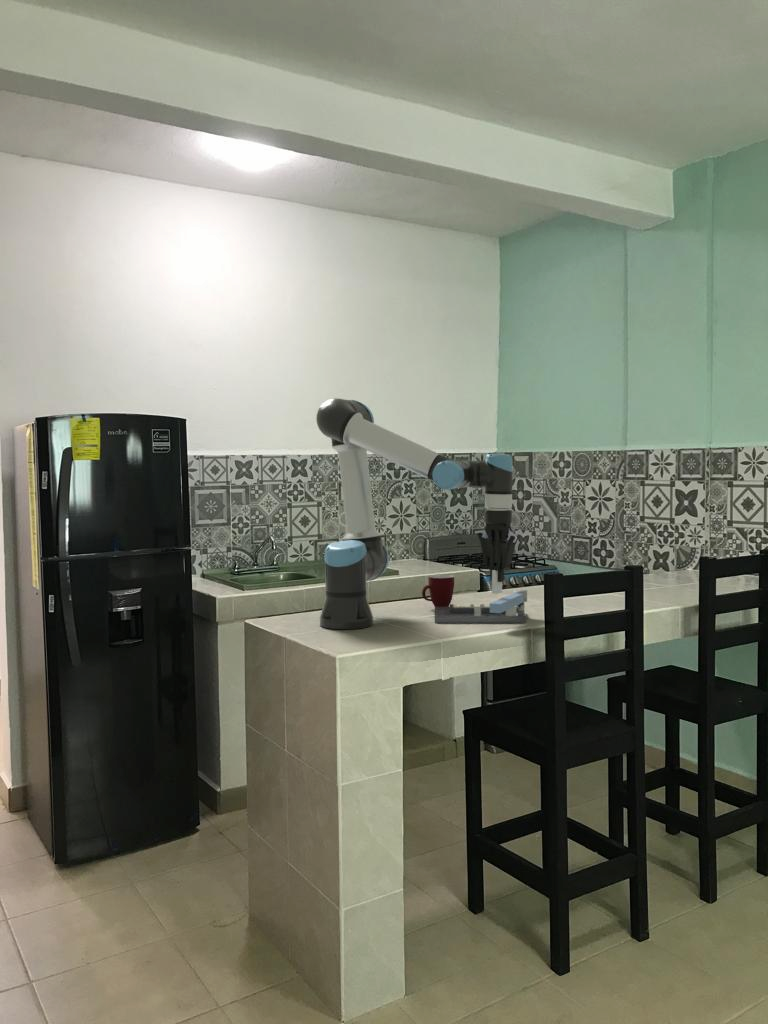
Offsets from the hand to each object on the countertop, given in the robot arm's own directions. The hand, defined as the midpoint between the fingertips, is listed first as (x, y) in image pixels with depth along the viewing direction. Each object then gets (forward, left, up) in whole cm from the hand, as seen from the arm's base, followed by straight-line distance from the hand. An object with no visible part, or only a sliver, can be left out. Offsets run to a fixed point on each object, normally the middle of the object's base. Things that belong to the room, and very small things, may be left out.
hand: (496, 592), depth 236 cm
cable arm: (+4, +1, -4) cm, 5 cm away
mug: (-17, +26, -9) cm, 32 cm away
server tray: (-5, +10, -9) cm, 14 cm away
